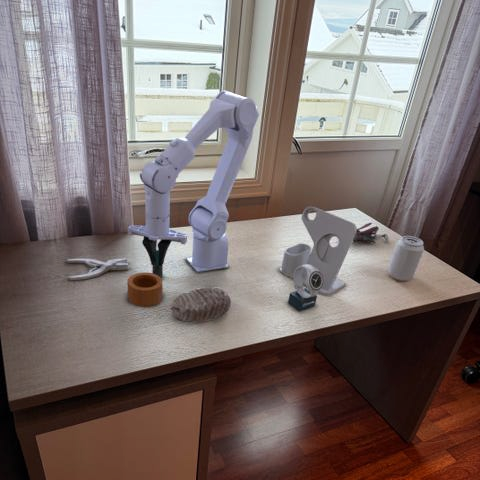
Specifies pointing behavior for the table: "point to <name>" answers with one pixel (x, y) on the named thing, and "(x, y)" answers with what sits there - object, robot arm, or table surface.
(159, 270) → the brush
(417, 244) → the can
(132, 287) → the orange flowerpot
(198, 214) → the robot arm
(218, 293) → the seashell
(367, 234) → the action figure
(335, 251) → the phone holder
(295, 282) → the watch
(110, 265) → the pliers
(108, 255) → the table surface
